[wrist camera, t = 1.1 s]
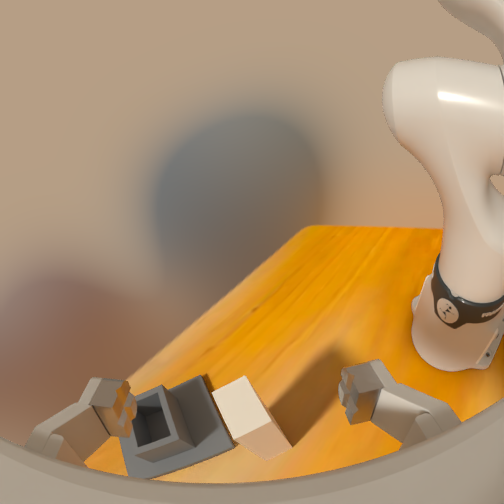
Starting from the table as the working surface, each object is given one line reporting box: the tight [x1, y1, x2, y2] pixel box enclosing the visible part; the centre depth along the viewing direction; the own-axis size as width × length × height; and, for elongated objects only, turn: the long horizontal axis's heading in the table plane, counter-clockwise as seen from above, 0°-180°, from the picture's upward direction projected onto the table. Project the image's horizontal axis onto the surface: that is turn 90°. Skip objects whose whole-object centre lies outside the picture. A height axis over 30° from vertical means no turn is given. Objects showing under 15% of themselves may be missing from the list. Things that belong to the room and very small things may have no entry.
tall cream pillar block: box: [211, 376, 292, 461], centre depth 29 cm, size 4×6×14 cm, turn 26°
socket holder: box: [119, 375, 235, 479], centre depth 35 cm, size 18×14×6 cm
